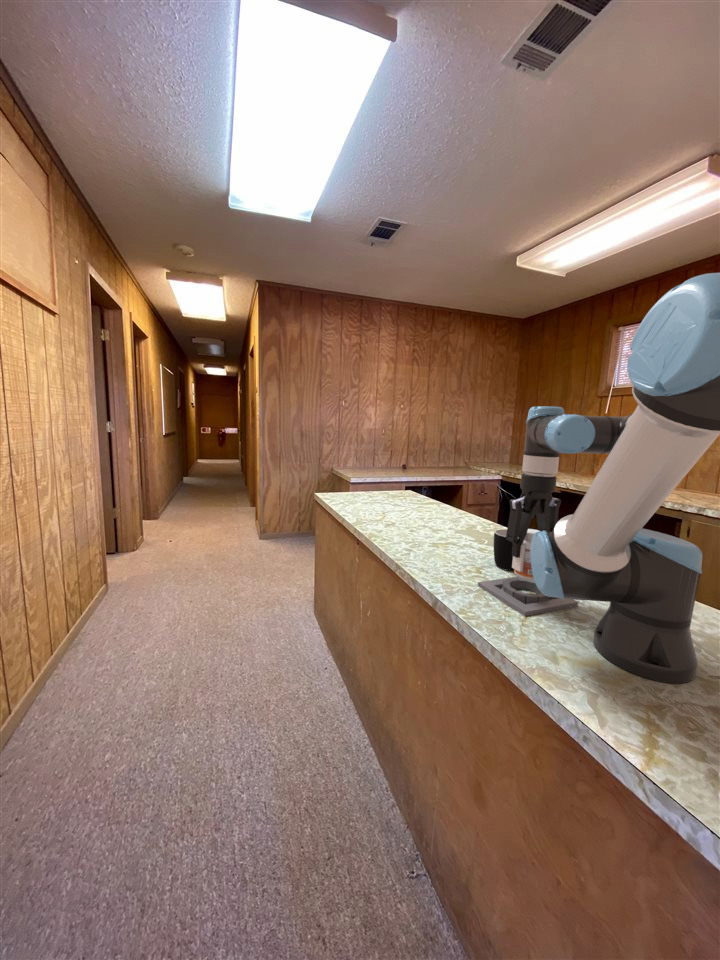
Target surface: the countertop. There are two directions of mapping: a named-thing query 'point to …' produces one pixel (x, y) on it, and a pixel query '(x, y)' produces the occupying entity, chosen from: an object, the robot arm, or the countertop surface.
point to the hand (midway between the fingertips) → (528, 567)
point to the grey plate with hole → (524, 596)
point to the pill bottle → (527, 557)
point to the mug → (502, 550)
